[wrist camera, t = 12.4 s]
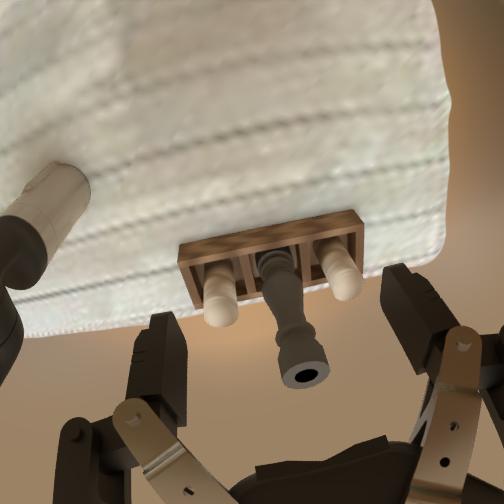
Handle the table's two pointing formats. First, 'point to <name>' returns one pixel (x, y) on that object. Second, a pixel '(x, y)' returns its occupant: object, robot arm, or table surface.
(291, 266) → the candle holder
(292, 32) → the table surface
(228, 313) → the wooden candle tray
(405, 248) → the table surface
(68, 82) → the table surface
